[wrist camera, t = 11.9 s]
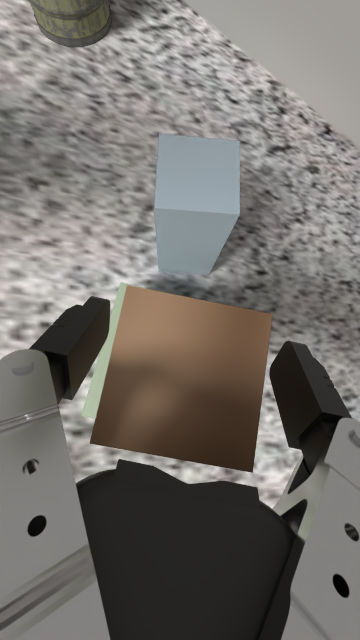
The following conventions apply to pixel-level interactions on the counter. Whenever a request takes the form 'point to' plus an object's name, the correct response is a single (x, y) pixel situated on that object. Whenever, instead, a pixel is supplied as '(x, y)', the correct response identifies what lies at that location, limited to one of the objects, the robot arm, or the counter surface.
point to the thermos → (73, 20)
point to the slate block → (195, 201)
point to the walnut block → (184, 380)
